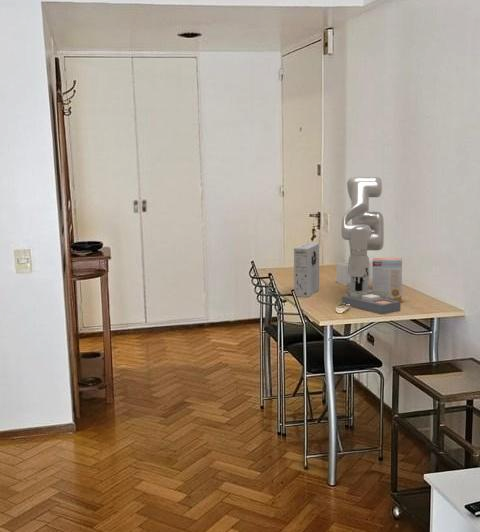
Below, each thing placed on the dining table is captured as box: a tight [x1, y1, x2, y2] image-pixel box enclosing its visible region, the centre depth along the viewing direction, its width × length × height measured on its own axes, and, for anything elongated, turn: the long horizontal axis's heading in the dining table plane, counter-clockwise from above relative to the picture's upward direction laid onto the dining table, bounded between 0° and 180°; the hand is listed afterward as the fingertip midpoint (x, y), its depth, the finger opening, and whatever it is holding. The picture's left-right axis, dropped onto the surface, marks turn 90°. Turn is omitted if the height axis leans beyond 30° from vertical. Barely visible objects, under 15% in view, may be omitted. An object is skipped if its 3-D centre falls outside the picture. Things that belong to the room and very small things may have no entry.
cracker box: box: [371, 257, 403, 303], centre depth 337 cm, size 14×6×21 cm, turn 77°
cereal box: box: [293, 242, 320, 298], centre depth 359 cm, size 22×8×25 cm, turn 159°
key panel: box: [341, 294, 402, 315], centre depth 325 cm, size 26×12×4 cm, turn 35°
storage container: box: [336, 259, 373, 286], centre depth 386 cm, size 25×11×11 cm, turn 111°
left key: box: [349, 292, 368, 298], centre depth 331 cm, size 6×6×2 cm
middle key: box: [362, 293, 380, 301], centre depth 325 cm, size 6×6×2 cm
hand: (358, 290), depth 331 cm, fingers closed
